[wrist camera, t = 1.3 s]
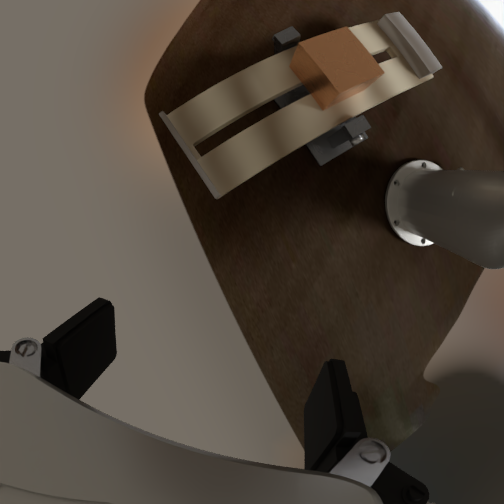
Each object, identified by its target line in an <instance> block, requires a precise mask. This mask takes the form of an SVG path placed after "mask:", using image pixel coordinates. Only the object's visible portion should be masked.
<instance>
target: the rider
mask: <svg viewBox="0 0 504 504" xmlns="http://www.w3.org/2000/svg"><path fill="white" fill-rule="evenodd" d="M289 67H290V68H291V70H292V71H293V72H294V73H295V75H296V76H297V77H298V78H299V80H300V81H301V82H302V83H303V85H304V86H305V87H306V89H307V90H308V91H309V93H310V94H311V95H312V97H313V98H314V99H315V101H316V102H317V103H318V105H319V106H320V108H321V109H322V110H323V111H324V110H326V109H327V108H329V107H331V106H333V105H335V104H337V103H339V102H341V101H343V100H345V99H347V98H349V97H351V96H353V95H355V94H358V93H360V92H362V91H364V90H365V89H366V88H368V87H369V86H370V85H371V84H372V83H374V82H375V81H376V80H377V79H378V78H380V77H381V76H382V75H383V74H384V73H385V72H384V71H383V70H382V68H381V67H380V66H379V64H378V63H377V62H376V60H375V59H374V58H373V57H372V55H371V54H370V53H369V52H368V50H367V49H366V48H365V47H364V46H363V44H362V43H361V42H360V41H359V40H358V38H357V37H356V36H355V35H354V34H353V33H352V32H351V30H350V29H349V28H348V27H343V28H340V29H337V30H334V31H330V32H327V33H324V34H321V35H319V36H316V37H313V38H310V39H307V40H305V41H302V42H299V43H298V45H297V48H296V50H295V53H294V55H293V58H292V60H291V63H290V66H289Z"/></svg>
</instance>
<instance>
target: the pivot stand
mask: <svg viewBox="0 0 504 504" xmlns="http://www.w3.org/2000/svg"><path fill="white" fill-rule="evenodd" d="M300 38H301V35H300V34H299V33H298V32H297V31H296V30H295V28H294V27H293V26H292V27H290V28H287V29H285V30H283V31H281V32H279V33H277V34H275V35H274V36H273V38H272V40H273V41H274V55H276V54H278V53H280V52H283V51H285V50H288V49H290V48H292V47H295V46H297V45H298V43H299V42H300ZM309 94H310V93H309V91H308V90H307V89H306V87H305V86H304V85H301V86H299V87H297V88H295V89H293V90H291V91H289V92H287V93H285V94H283V95H281V96H279V97H277V98H275V99H274V101H275V102H276V103H277V105H278V106H279V108H280V109H282V108H284V107H286V106H288V105H290V104H292V103H293V102H295V101H297V100H299V99H301V98H303V97H305V96H307V95H309ZM369 128H371V126H370V125H369V123H368V122H367V120H366V119H365V117H364V116H363V115H362V116H360V117H358V118H355V117H353V118H351V119H349V120H347V121H346V122H344V123H342V124H340V125H338V126H336V127H335V128H333V129H331V130H329V131H327V132H326V133H324V134H322V135H320V136H319V137H317V138H315V139H313V140H312V141H310V142H308V143H307V144H306V146H307V147H308V149H309V150H310V152H311V154H312V155H313V157H314V158H315V160H316V161H317V163H318V164H319V166H322V165H323V164H325V163H326V162H328V161H330V160H331V159H333V158H335V157H336V156H338V155H340V154H341V153H343V152H345V151H347V150H348V149H350V148H352V147H353V146H355V145H357V144H358V143H360V142H362V141H364V140H365V139H367V138H368V137H367V135H366V133H365V132H364V131H366V130H367V129H369Z"/></svg>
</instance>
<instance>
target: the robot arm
mask: <svg viewBox="0 0 504 504" xmlns="http://www.w3.org/2000/svg"><path fill="white" fill-rule="evenodd" d="M394 181H395V182H396V184H395V185H394ZM385 209H386V214H387V218H388V221H389V223H390V225H391V227H392V229H393V230H394V232H395V233H396V234H397V235H398V236H399V237H400V238H401V239H403V240H404V241H406V242H407V243H410V244H412V245H416V246H428V245H431V244H433V243H435V244H437V245H439V246H441V247H443V248H445V249H447V250H449V251H452V252H454V253H456V254H458V255H460V256H462V257H464V258H466V259H468V260H470V261H471V262H474V263H476V264H478V265H480V266H482V267H485V268H488V269H500V268H504V171H481V170H464V169H463V168H461V167H460V168H459V169H457V170H443V169H442V168H440V167H439V166H438V165H436V164H435V163H433V162H430V161H427V160H413V161H410V162H407V163H405V164H404V165H402V166H400V167H399V168H398V169H397V170H396V171H395V173H394V174H393V176H392V177H391V179H390V181H389V183H388V186H387V190H386V195H385ZM394 221H396V222H395V223H394ZM421 239H422V240H421ZM116 354H117V351H116V336H115V317H114V306H113V305H112V303H111V302H110V301H108V300H105V299H103V298H98V299H96V300H95V301H93V302H92V303H90V304H89V305H88V306H86V307H85V308H83V309H82V310H81V311H79V312H78V313H76V314H75V315H74V316H72V317H71V318H70V319H68V320H67V321H66V322H64V323H63V324H61V325H60V326H59V327H57V328H56V329H55V330H53V331H52V332H51V333H49V334H48V335H47V336H45V337H44V338H43V343H42V344H40V343H39V342H38V341H37V340H36V339H33V338H22V339H19V340H18V341H16V342H15V343H14V344H13V346H12V349H11V351H0V504H430V503H429V501H428V499H429V492H428V489H427V487H426V486H425V485H424V484H423V483H421V482H420V481H418V480H417V479H415V478H413V477H412V476H410V475H408V474H407V473H405V472H404V471H402V470H401V469H399V468H397V467H396V466H395V465H393V464H392V463H390V462H389V459H390V451H389V448H388V447H387V445H386V444H385V443H383V442H382V441H380V440H378V439H375V438H368V437H367V432H366V428H365V424H364V420H363V415H362V411H361V407H360V403H359V399H358V396H357V393H356V392H352V389H351V385H350V381H349V377H348V373H347V369H346V365H345V362H344V361H343V360H337V359H330V360H329V362H328V361H326V362H325V363H324V365H323V367H322V369H321V372H320V374H319V376H318V379H317V381H316V383H315V385H314V387H313V389H312V392H311V394H310V396H309V398H308V400H307V402H306V404H305V408H304V438H305V469H298V468H290V467H282V466H276V465H269V464H264V463H258V462H252V461H247V460H242V459H237V458H233V457H228V456H224V455H220V454H216V453H212V452H208V451H205V450H200V449H197V448H194V447H191V446H187V445H184V444H181V443H177V442H174V441H172V440H169V439H166V438H163V437H160V436H158V435H155V434H152V433H149V432H147V431H144V430H142V429H139V428H137V427H134V426H132V425H130V424H127V423H125V422H123V421H120V420H118V419H116V418H114V417H112V416H110V415H108V414H105V413H103V412H101V411H99V410H97V409H95V408H93V407H91V406H90V405H88V404H86V403H84V402H82V401H80V400H79V399H80V398H81V397H82V396H83V395H84V393H85V392H86V391H87V390H88V389H89V388H90V387H91V385H92V384H93V383H94V382H95V381H96V380H97V379H98V377H99V376H100V375H101V374H102V373H103V372H104V371H105V369H106V368H107V367H108V366H109V365H110V364H111V363H112V362H113V360H114V359H115V357H116ZM432 504H435V503H434V502H433V503H432Z"/></svg>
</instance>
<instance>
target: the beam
mask: <svg viewBox="0 0 504 504" xmlns="http://www.w3.org/2000/svg"><path fill="white" fill-rule="evenodd" d="M349 29H350V30H351V32H352V33H353V34H354V35H355V36H356V37H357V38H358V40H359V41H360V42H361V43H362V44H363V46H364V47H365V48H366V49H367V50H368V52H369V53H370V54H371V55H375V54H378V53H381V52H383V51H387V53H388V54H389V55H390V56H391V58H392V59H390V60H387V61H385V62H382V63H380V64H379V66H380V67H381V68H382V70H383V71H384V72H385V73H384V74H383V75H382V76H381V77H380V78H378V79H377V80H376V81H375V82H374V83H372V84H371V85H370V86H369V87H368V88H366V89H365V90H364V91H362V92H360V93H358V94H355V95H353V96H351V97H349V98H347V99H345V100H343V101H341V102H339V103H337V104H335V105H333V106H331V107H329V108H327V109H326V110H324V111H323V110H322V109H321V108H320V106H319V105H318V103H317V102H316V101H315V99H314V98H313V97H312V95H311V94H309V95H307V96H305V97H303V98H301V99H299V100H297V101H295V102H293V103H292V104H290V105H288V106H286V107H284V108H282V109H280V110H278V111H277V112H275V113H273V114H271V115H269V116H268V117H266V118H264V119H262V120H261V121H259V122H257V123H255V124H254V125H252V126H250V127H248V128H247V129H245V130H243V131H242V132H240V133H238V134H237V135H235V136H234V137H232V138H230V139H229V140H227V141H226V142H224V143H222V144H221V145H219V146H218V147H216V148H215V149H213V150H211V151H210V152H208V153H207V154H205V155H204V156H202V157H201V156H200V154H199V153H198V151H197V150H196V148H195V146H196V145H198V144H199V143H201V142H202V141H204V140H205V139H207V138H208V137H210V136H212V135H213V134H215V133H216V132H218V131H219V130H221V129H223V128H224V127H226V126H228V125H229V124H231V123H233V122H234V121H236V120H238V119H239V118H241V117H243V116H244V115H246V114H248V113H250V112H251V111H253V110H255V109H257V108H259V107H260V106H262V105H264V104H266V103H268V102H270V101H271V100H273V99H275V98H277V97H279V96H281V95H283V94H285V93H287V92H289V91H291V90H293V89H295V88H297V87H299V86H301V85H303V83H302V82H301V81H300V80H299V78H298V77H297V76H296V75H295V73H294V72H293V71H292V70H291V68H290V67H289V66H290V63H291V60H292V58H293V55H294V53H295V50H296V48H297V46H295V47H292V48H290V49H288V50H285V51H283V52H280V53H278V54H276V55H274V56H271V57H269V58H267V59H265V60H263V61H260V62H258V63H256V64H254V65H252V66H250V67H248V68H246V69H244V70H242V71H240V72H238V73H236V74H234V75H233V76H231V77H229V78H227V79H225V80H223V81H222V82H220V83H218V84H216V85H214V86H213V87H211V88H209V89H207V90H206V91H204V92H202V93H201V94H199V95H197V96H196V97H194V98H193V99H191V100H189V101H188V102H186V103H185V104H183V105H182V106H180V107H178V108H177V109H175V110H174V111H172V112H171V113H169V114H168V115H166V114H165V113H164V112H163V111H162V112H160V113H159V115H160V117H161V118H162V120H163V121H164V123H165V124H166V126H167V127H168V129H169V130H170V132H171V133H172V135H173V136H174V138H175V139H176V141H177V142H178V144H179V145H180V147H181V148H182V150H183V151H184V153H185V154H186V156H187V157H188V159H189V160H190V162H191V163H192V165H193V166H194V168H195V169H196V171H197V172H198V174H199V175H200V177H201V178H202V180H203V181H204V183H205V184H206V186H207V187H208V189H209V190H210V192H211V193H212V195H213V196H214V198H215V199H219V198H220V197H222V196H223V195H225V194H226V193H228V192H229V191H231V190H233V189H234V188H236V187H237V186H239V185H240V184H242V183H243V182H245V181H246V180H248V179H249V178H251V177H253V176H254V175H256V174H257V173H259V172H260V171H262V170H264V169H265V168H267V167H268V166H270V165H272V164H273V163H275V162H277V161H278V160H280V159H281V158H283V157H285V156H286V155H288V154H290V153H291V152H293V151H295V150H296V149H298V148H300V147H301V146H303V145H305V144H307V143H308V142H310V141H312V140H313V139H315V138H317V137H319V136H320V135H322V134H324V133H326V132H327V131H329V130H331V129H333V128H335V127H336V126H338V125H340V124H342V123H344V122H346V121H347V120H349V119H351V118H353V117H355V116H357V115H359V114H360V113H362V112H364V111H366V110H368V109H370V108H372V107H374V106H376V105H378V104H380V103H382V102H384V101H386V100H388V99H390V98H392V97H394V96H396V95H398V94H400V93H402V92H404V91H406V90H408V89H410V88H412V87H414V86H417V85H419V84H421V83H423V82H425V81H427V80H430V79H431V78H433V77H434V76H433V75H432V73H434V72H436V71H437V70H439V69H441V68H442V66H441V65H440V63H439V62H438V60H437V59H436V57H435V56H434V55H433V53H432V52H431V50H430V49H429V48H428V46H427V45H426V44H425V42H424V41H423V40H422V39H421V37H420V36H419V35H418V34H417V32H416V31H415V30H414V29H413V27H412V26H411V25H410V24H409V23H408V21H407V20H406V19H405V18H404V17H403V16H402V15H401V14H400V12H395V13H390V14H385V15H384V16H383V17H382V18H381V20H377V21H373V22H369V23H365V24H361V25H357V26H353V27H350V28H349Z"/></svg>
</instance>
